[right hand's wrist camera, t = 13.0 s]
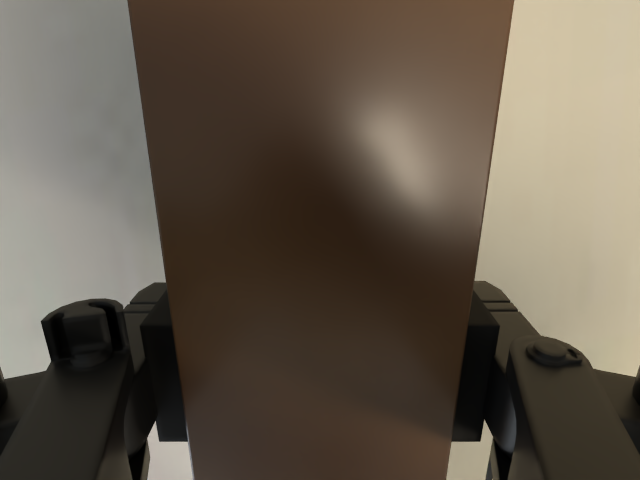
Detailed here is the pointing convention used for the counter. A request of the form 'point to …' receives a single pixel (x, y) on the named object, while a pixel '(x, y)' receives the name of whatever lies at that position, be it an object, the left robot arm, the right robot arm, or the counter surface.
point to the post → (320, 223)
